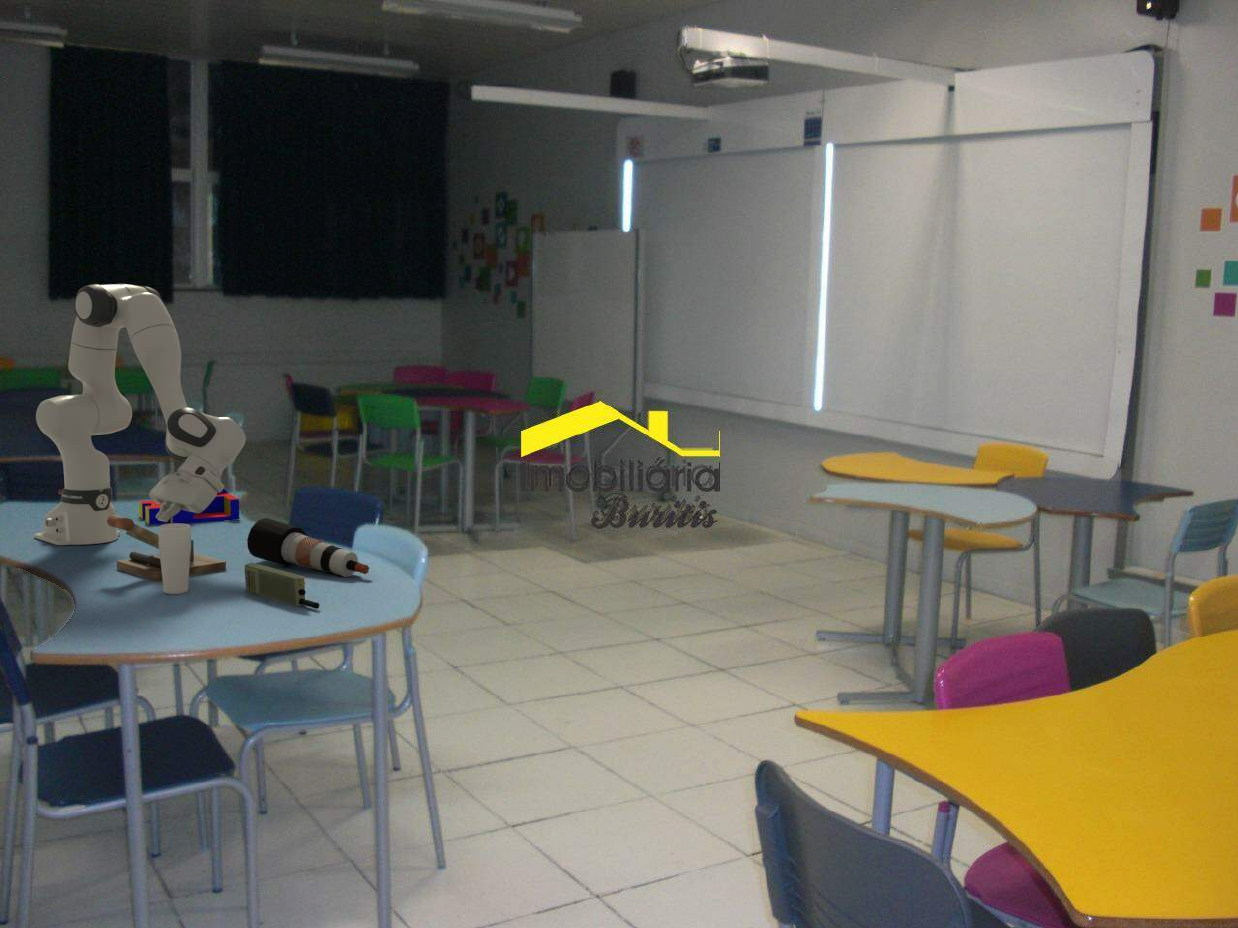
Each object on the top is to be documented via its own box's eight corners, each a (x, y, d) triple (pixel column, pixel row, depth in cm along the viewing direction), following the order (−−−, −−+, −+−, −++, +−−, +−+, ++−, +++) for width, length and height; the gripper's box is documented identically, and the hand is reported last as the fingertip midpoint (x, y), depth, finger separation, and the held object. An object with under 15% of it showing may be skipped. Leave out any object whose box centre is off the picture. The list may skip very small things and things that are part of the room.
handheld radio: (256, 590, 273) (324, 610, 257) (243, 593, 270) (311, 613, 255) (254, 561, 272) (323, 579, 256) (242, 564, 269) (310, 582, 254)
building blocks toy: (137, 516, 359) (136, 455, 357) (223, 510, 373) (222, 452, 370) (150, 526, 344) (149, 463, 341) (239, 520, 357) (238, 459, 355)
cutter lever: (180, 545, 295) (110, 512, 280) (196, 549, 291) (126, 516, 276) (175, 557, 294) (104, 525, 279) (190, 561, 290) (119, 529, 275)
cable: (357, 599, 285) (347, 565, 279) (254, 565, 301) (242, 533, 295) (384, 573, 292) (374, 540, 286) (281, 542, 308) (270, 510, 302)
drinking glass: (153, 594, 265) (152, 527, 263) (169, 587, 272) (167, 522, 270) (182, 596, 264) (181, 529, 262) (197, 589, 271) (196, 524, 269)
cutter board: (185, 558, 303) (184, 530, 302) (226, 569, 291) (225, 541, 290) (117, 568, 289) (116, 540, 288) (156, 581, 277) (156, 551, 277)
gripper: (165, 462, 297) (129, 506, 291) (211, 471, 284) (174, 517, 278) (182, 479, 301) (147, 522, 295) (228, 488, 288) (192, 533, 282)
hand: (160, 519), depth 286 cm, fingers closed
